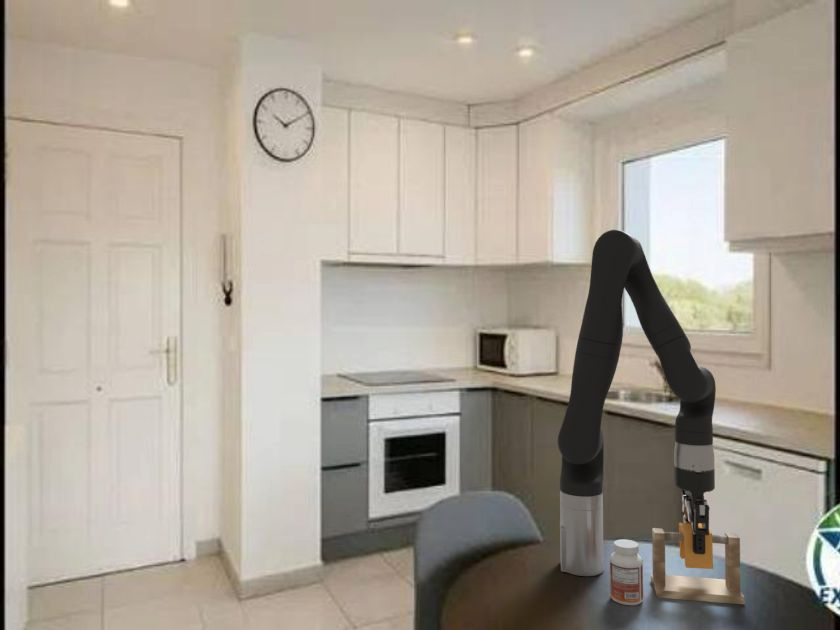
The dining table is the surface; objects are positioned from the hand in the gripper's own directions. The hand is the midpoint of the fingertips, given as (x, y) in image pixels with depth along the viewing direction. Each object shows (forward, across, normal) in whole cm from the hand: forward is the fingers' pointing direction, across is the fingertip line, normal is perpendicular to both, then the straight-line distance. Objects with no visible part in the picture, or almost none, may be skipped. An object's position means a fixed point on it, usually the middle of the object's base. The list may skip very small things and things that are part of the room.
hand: (695, 546), depth 126 cm
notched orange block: (+3, 0, 0) cm, 3 cm away
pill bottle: (+9, +6, -14) cm, 18 cm away
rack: (+9, 0, 0) cm, 9 cm away
